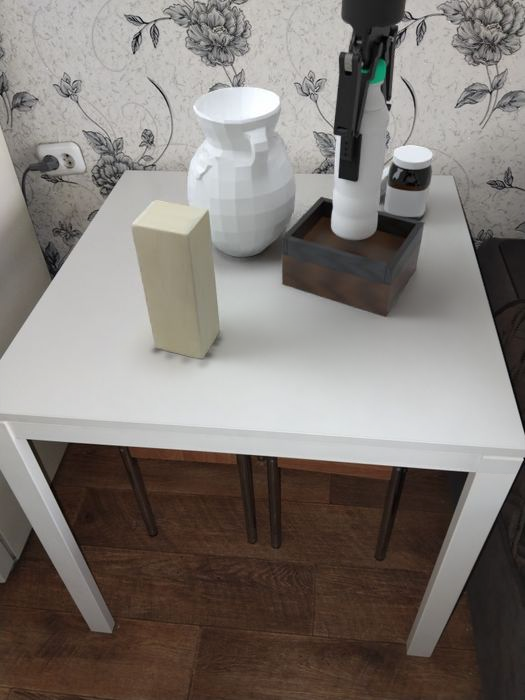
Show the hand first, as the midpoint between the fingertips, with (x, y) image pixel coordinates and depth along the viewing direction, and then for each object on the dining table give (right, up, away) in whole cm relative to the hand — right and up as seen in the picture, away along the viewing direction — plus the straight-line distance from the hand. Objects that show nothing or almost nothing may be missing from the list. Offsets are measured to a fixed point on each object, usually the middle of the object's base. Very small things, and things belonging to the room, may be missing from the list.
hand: (359, 166), depth 85 cm
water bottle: (0, -8, +7) cm, 11 cm away
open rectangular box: (+1, -14, +13) cm, 19 cm away
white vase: (-17, -7, +22) cm, 29 cm away
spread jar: (+12, +1, +29) cm, 31 cm away
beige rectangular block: (-25, -25, +4) cm, 35 cm away
